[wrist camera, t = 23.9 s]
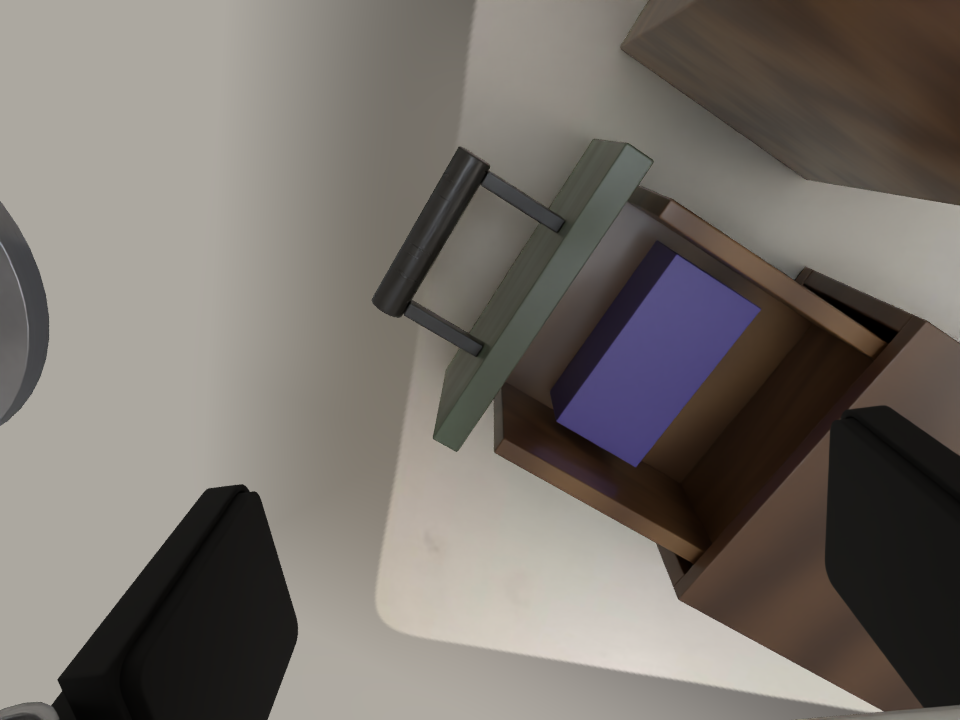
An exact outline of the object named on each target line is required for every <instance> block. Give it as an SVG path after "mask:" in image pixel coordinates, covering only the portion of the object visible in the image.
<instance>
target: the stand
mask: <svg viewBox="0 0 960 720" xmlns="http://www.w3.org/2000/svg"><path fill="white" fill-rule="evenodd" d="M620 48H621V49H622V50H623V51H625V52H626V53H627V54H629V55H630V56H632V57H633V58H634V59H636V60H637V61H639V62H640V63H642V64H643V65H644V66H646V67H647V68H649V69H650V70H652V71H653V72H654V73H656V74H657V75H659V76H660V77H661V78H663V79H664V80H666V81H667V82H669V83H670V84H671V85H673V86H674V87H676V88H677V89H679V90H680V91H681V92H683V93H684V94H686V95H687V96H688V97H690V98H691V99H693V100H694V101H696V102H697V103H698V104H700V105H701V106H703V107H704V108H706V109H707V110H708V111H710V112H711V113H713V114H714V115H715V116H717V117H718V118H720V119H721V120H723V121H724V122H725V123H727V124H728V125H730V126H731V127H733V128H734V129H735V130H737V131H738V132H740V133H741V134H742V135H744V136H745V137H747V138H748V139H750V140H751V141H752V142H754V143H755V144H757V145H758V146H759V147H761V148H762V149H764V150H765V151H767V152H768V153H769V154H771V155H772V156H774V157H775V158H777V159H778V160H779V161H781V162H782V163H784V164H785V165H786V166H788V167H789V168H791V169H792V170H794V171H795V172H796V173H798V174H799V175H801V176H802V177H804V178H805V179H806V180H812V181H818V182H824V183H830V184H835V185H841V186H847V187H853V188H859V189H865V190H871V191H877V192H883V193H889V194H895V195H901V196H907V197H912V198H918V199H924V200H930V201H936V202H942V203H948V204H954V205H960V0H649V1H648V2H647V4H646V6H645V7H644V9H643V10H642V12H641V14H640V15H639V17H638V18H637V20H636V22H635V23H634V25H633V26H632V28H631V30H630V31H629V33H628V35H627V36H626V38H625V39H624V41H623V43H622V44H621V46H620Z"/></svg>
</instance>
